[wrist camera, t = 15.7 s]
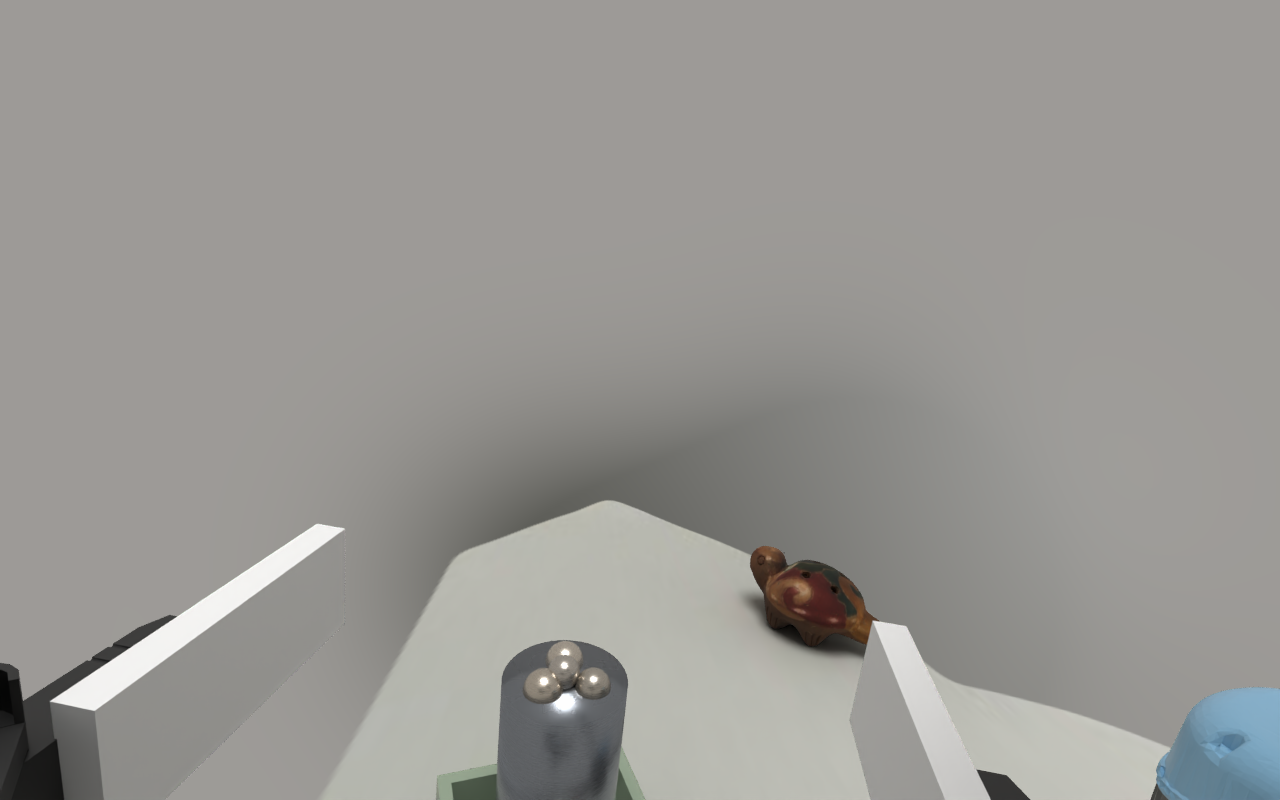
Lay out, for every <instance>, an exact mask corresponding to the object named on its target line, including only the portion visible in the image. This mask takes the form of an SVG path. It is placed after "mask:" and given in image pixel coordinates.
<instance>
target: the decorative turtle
mask: <svg viewBox="0 0 1280 800" xmlns="http://www.w3.org/2000/svg"><path fill="white" fill-rule="evenodd" d="M750 567H751V570H752V572H753V575H754V578H755V580H756V582H757V584H758V585H759V587H760V589H761V590H762V592H763V594H764V600H765V607H766V614H767V620H768V622H769V625H770V626H771V627H772V628H774V629H779V628H783V627H785V626H787V625H790V624H792V625H794V626H795V627H796V628H797V630H798V631H799V633H800V635H801V637H802V639H803V640H804V642H805V643H806V644H807V645H809V646H817V645H818V644H819V643H821V642H822V641H823V640H824V639H825V638H826V637H828V636H829V635H831V634H833V633H838V634H841V635H843V636H846V637H848V638H851V639H853V640H855V641H858V642H860V643H863V644H865V645H867V643H868V639H869V634H870V630H871V626H872V621H878V622H880V621H879V620H877V619H876V618H874V617H873V616H872V615H871V614H869V613H868V612H867V611H866V609H865V605H864V600H863V597H862V595H861V593H860V592H859V590H858V589H857V587H856V586H855V585H854V584H853V582H852V581H850V580H849V579H848V578H847V577H846V576H845V575H843V574H842V573H840V572H839V571H837V570H836V569H834V568H832V567H830V566H828V565H826V564H823V563H820V562H816V561H811V560H802V561H798V562H796V563H794V564H792V565H787V563H786V559H785V556H784V555H783V553H782V552H781V551H780V550H779V549H776V548H774V547H769V546H762V547H759V548H757V549H756V550H755V551H754V552H753V554H752V556H751V559H750Z"/></svg>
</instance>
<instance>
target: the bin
mask: <svg viewBox="0 0 1280 800" xmlns="http://www.w3.org/2000/svg"><path fill="white" fill-rule="evenodd" d="M496 779H497V764H493V765H488V766H483V767H478V768H473V769H468V770H463V771H458V772H453V773H448V774H443V775H439V776H437V793H436V800H495V798H496ZM615 800H645V798H644V796H643V793H642V791H641V789H640V787H639V784H638V782H637V780H636V778H635V776H634V773H633V771H632V769H631V767H630V764H629V762H628V760H627V758H626V756H625V753H624V751H623V749H622V747H621V753H620V762H619V771H618V781H617V790H616V799H615Z"/></svg>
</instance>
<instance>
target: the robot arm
mask: <svg viewBox="0 0 1280 800" xmlns="http://www.w3.org/2000/svg"><path fill="white" fill-rule="evenodd" d="M344 624H345V529H344V528H338V527H333V526H327V525H321V524H316V525H314V526H313V527H312V528H310V529H308V530H307V531H306V532H304V533H303V534H301V535H299V536H298V537H296V538H295V539H293V540H292V541H290V542H289V543H288V544H286V545H285V546H283V547H281V548H280V549H279V550H277V551H275V552H274V553H272V554H271V555H269V556H268V557H266V558H265V559H263V560H262V561H260V562H259V563H257V564H256V565H254V566H253V567H251V568H250V569H248V570H247V571H245V572H244V573H242V574H241V575H239V576H238V577H236V578H235V579H233V580H232V581H230V582H229V583H227V584H226V585H224V586H223V587H221V588H220V589H218V590H217V591H215V592H214V593H212V594H211V595H209V596H208V597H206V598H205V599H203V600H202V601H200V602H199V603H197V604H196V605H194V606H193V607H191V608H190V609H188V610H187V611H185V612H184V613H182V614H181V615H179V616H178V617H177V616H171V615H169V616H166V617H164V618H161V619H159V620H156V621H154V622H151V623H149V624H146V625H144V626H141V627H139V628H137V629H136V630H134V631H132V632H131V633H129V634H128V635H126V636H125V637H123V638H121V639H120V640H118V641H117V642H115V643H114V644H113V646H112V647H107V648H106V649H104V650H103V651H101V652H99V653H98V654H96V655H95V656H93V657H92V660H91V661H85V662H84V663H82V664H81V665H79V666H78V667H76V668H74V669H73V670H71V671H70V672H68V673H67V674H65V675H63V676H62V677H60V678H59V679H57V680H56V681H54V682H52V683H51V684H49V685H48V686H46V687H45V688H43V689H42V690H40V691H38V692H37V693H35V694H34V695H33V696H31V697H29V698H27V699H26V700H24V701H23V699H22V692H21V684H20V677H19V670H18V669H16V668H15V667H13V666H12V665H10V664H3V663H0V800H165V799H166V798H167V797H168V796H169V795H170V794H171V793H172V792H173V791H174V790H175V789H176V788H177V787H178V786H180V785H181V783H183V782H184V781H185V780H186V779H187V778H188V776H190V775H191V774H192V773H193V772H194V771H195V770H196V769H197V768H198V767H199V766H200V765H201V764H202V763H203V762H204V761H205V760H206V759H207V758H208V757H209V756H210V755H211V754H212V753H213V752H214V751H215V750H216V749H217V748H218V747H219V746H220V745H221V744H222V743H223V742H225V741H226V740H227V739H228V738H229V736H231V735H232V734H233V732H235V731H236V730H237V729H238V728H239V727H240V726H241V725H242V724H243V723H244V722H245V721H246V720H247V719H248V718H249V717H250V716H251V715H252V714H253V713H254V712H255V711H256V710H257V709H258V708H259V707H260V706H261V705H262V704H263V703H264V702H265V701H266V700H267V699H269V698H270V697H271V695H273V694H274V693H275V692H276V691H277V690H278V689H279V688H280V687H281V686H282V685H283V684H284V683H285V682H286V681H287V680H288V679H289V678H290V677H291V676H292V675H293V674H294V673H295V672H296V671H297V670H298V669H299V668H300V667H301V666H302V665H303V664H304V663H305V662H306V661H307V660H308V659H309V658H310V657H312V656H313V655H314V654H315V652H317V651H318V650H319V649H320V648H321V647H322V646H323V645H324V644H325V642H327V641H328V640H329V639H330V638H331V637H332V636H333V635H334V634H335V633H336V632H337V631H338V630H339V629H340V628H341V627H342V626H343V625H344ZM850 723H851V727H852V731H853V735H854V738H855V742H856V746H857V750H858V753H859V757H860V761H861V764H862V768H863V772H864V776H865V779H866V783H867V787H868V791H869V794H870V798H871V800H1030V799H1029V798H1028V797H1027V796H1026V795H1025V794H1024V793H1023V792H1022V791H1021V790H1020V789H1019V788H1018V787H1017V786H1016V785H1015V784H1014V782H1013V781H1012V780H1011V779H1010V778H1009V777H1008V776H1007V775H1002V774H997V773H992V772H986V771H981V770H976V768H975V766H974V764H973V762H972V760H971V758H970V756H969V754H968V752H967V750H966V748H965V746H964V744H963V742H962V740H961V738H960V735H959V733H958V731H957V729H956V727H955V725H954V723H953V721H952V719H951V717H950V715H949V713H948V711H947V709H946V707H945V705H944V703H943V701H942V699H941V697H940V694H939V692H938V690H937V688H936V686H935V684H934V682H933V680H932V678H931V676H930V674H929V672H928V670H927V668H926V666H925V664H924V662H923V660H922V658H921V656H920V654H919V652H918V649H917V647H916V645H915V643H914V641H913V639H912V637H911V635H910V633H909V631H908V629H907V627H906V626H901V625H895V624H890V623H884V622H878V621H872V626H871V630H870V634H869V639H868V643H867V647H866V651H865V656H864V660H863V664H862V669H861V673H860V677H859V682H858V686H857V690H856V694H855V699H854V703H853V707H852V712H851V716H850ZM1156 772H1157V778H1156V781H1157V784H1156V786H1155V789H1154V792H1153V794H1152V797H1151V800H1280V689H1277V688H1263V687H1262V688H1261V687H1252V688H1237V689H1231V690H1225V691H1221V692H1218V693H1215V694H1212V695H1210V696H1208V697H1206V698H1204V699H1203V700H1201V701H1200V702H1199V703H1198V704H1196V705H1195V706H1194V707H1193V708H1192V710H1191V711H1190V712H1189V714H1188V715H1187V717H1186V719H1185V721H1184V724H1183V725H1182V727H1181V729H1180V732H1179V733H1178V735H1177V738H1176V739H1175V742H1174V743H1173V746H1172V747H1171V750H1170V752H1168V753H1167V754H1165V755H1164V756H1163V757H1162V759H1161V760H1160V762H1159V763H1158V766H1157V769H1156Z"/></svg>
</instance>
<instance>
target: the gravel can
mask: <svg viewBox="0 0 1280 800" xmlns="http://www.w3.org/2000/svg"><path fill="white" fill-rule="evenodd" d="M627 688H628V679H627V674H626V672H625V670H624V668H623V666H622V665H621V663H620V662H619V661H618V660H617V659H616V658H615V657H614V656H613V655H611V654H610V653H608V652H607V651H605V650H603V649H601V648H599V647H597V646H594V645H591V644H588V643H584V642H578V641H568V640H559V641H550V642H544V643H541V644H537V645H534V646H531V647H529V648H527V649H525V650H523V651H522V652H520V653H519V654H517V655H516V656H515V657H514V658H513V659H512V660H511V661H510V662H509V663H508V665H507V666H506V668H505V670H504V672H503V676H502V685H501V704H500V723H499V741H498V760H497V779H496V798H495V800H615V799H616V790H617V781H618V771H619V762H620V753H621V744H622V734H623V725H624V716H625V707H626V697H627Z"/></svg>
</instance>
